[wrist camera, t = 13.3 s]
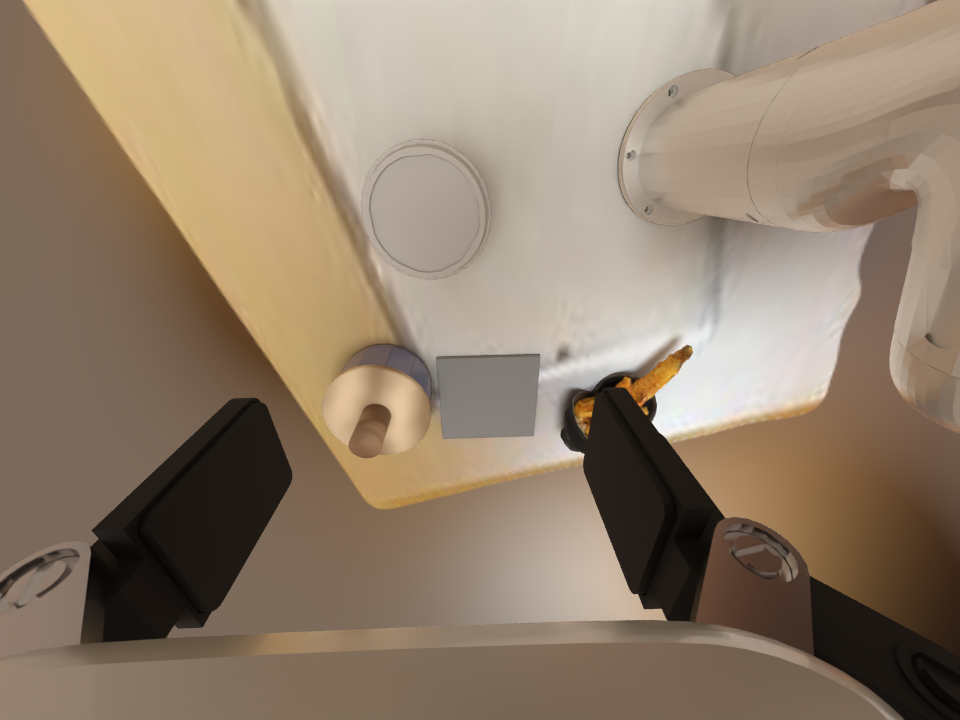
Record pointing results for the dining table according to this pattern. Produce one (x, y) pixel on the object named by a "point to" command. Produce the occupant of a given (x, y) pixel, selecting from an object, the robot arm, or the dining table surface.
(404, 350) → the bowl
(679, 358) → the black dish with food
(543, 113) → the dining table surface
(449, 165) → the disposable coffee cup
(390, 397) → the lid
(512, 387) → the mat
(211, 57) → the dining table surface
